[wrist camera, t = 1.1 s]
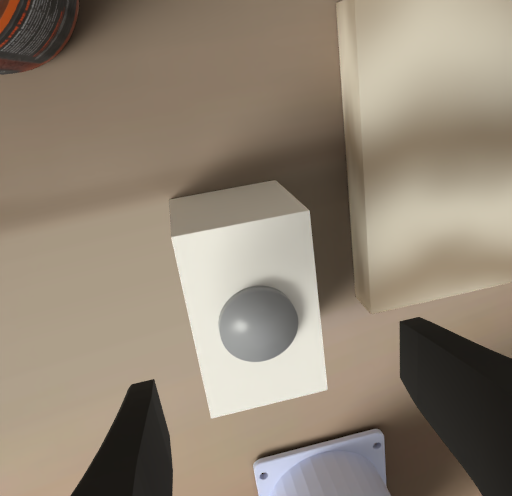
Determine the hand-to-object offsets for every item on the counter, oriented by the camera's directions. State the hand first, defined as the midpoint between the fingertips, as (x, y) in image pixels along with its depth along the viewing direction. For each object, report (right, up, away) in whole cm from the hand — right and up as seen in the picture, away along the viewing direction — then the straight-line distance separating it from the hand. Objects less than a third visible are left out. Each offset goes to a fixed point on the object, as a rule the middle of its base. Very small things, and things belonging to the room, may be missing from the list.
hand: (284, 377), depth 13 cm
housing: (-2, +3, +10) cm, 10 cm away
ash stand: (+10, +9, +10) cm, 17 cm away
